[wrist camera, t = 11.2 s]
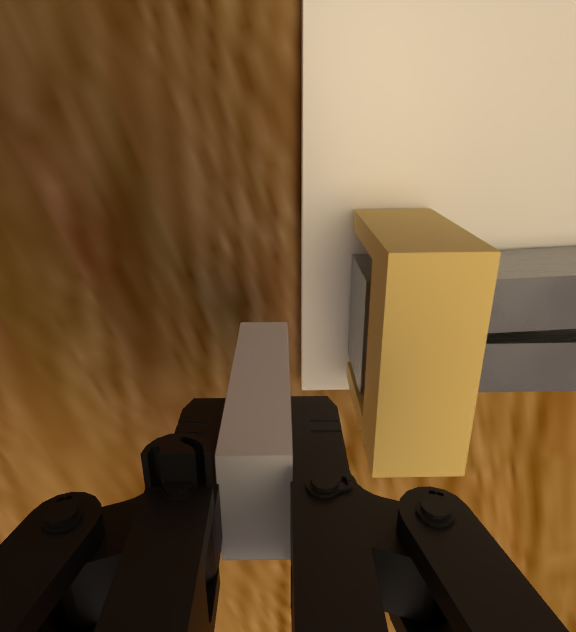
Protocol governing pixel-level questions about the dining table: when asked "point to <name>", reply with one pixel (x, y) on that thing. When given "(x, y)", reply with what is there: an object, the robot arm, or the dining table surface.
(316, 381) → the board
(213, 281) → the dining table surface
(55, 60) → the dining table surface
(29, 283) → the dining table surface
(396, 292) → the tan boxy piece
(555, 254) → the tongs jaw
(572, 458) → the dining table surface
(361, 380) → the tongs fixed
